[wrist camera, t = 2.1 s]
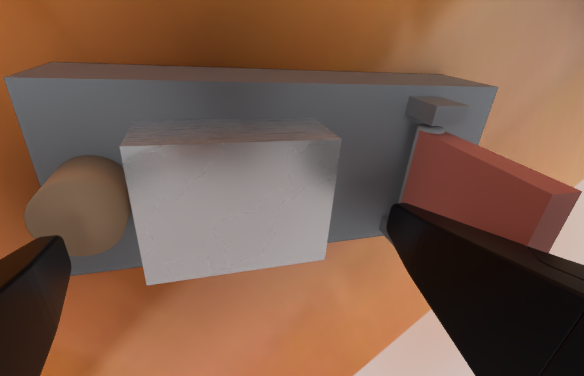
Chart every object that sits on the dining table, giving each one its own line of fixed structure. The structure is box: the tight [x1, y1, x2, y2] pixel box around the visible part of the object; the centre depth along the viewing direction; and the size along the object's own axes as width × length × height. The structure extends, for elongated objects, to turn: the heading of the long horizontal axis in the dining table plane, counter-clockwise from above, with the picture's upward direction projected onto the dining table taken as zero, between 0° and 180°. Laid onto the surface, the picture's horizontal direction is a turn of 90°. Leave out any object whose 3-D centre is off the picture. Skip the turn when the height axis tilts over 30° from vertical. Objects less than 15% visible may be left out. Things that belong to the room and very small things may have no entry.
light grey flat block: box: [119, 118, 342, 285], centre depth 11 cm, size 6×5×2 cm
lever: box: [398, 124, 581, 253], centre depth 11 cm, size 1×4×6 cm, turn 176°
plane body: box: [4, 62, 498, 276], centre depth 13 cm, size 17×7×6 cm, turn 86°
